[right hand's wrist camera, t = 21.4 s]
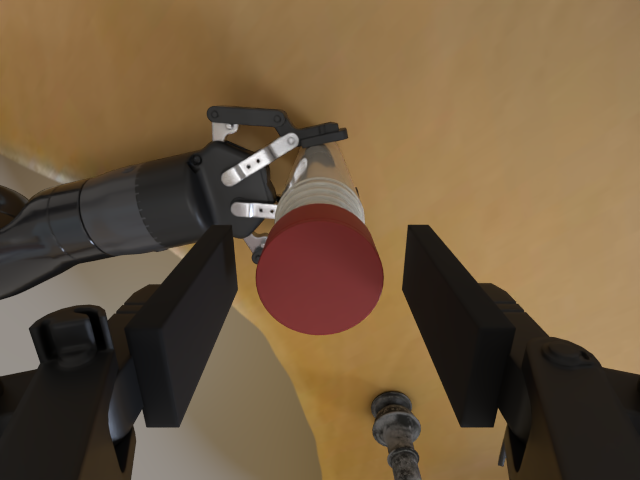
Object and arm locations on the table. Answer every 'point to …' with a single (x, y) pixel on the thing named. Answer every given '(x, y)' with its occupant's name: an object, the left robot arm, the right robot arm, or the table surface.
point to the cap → (319, 270)
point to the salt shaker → (397, 433)
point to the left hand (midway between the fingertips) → (351, 164)
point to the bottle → (320, 182)
